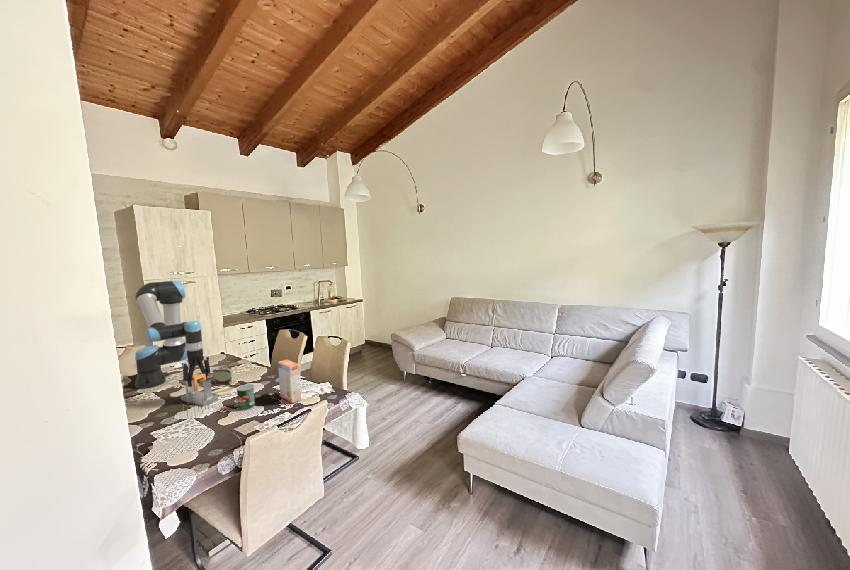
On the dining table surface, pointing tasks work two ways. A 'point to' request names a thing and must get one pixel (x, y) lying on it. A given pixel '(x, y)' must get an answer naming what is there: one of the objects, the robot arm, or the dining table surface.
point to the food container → (223, 375)
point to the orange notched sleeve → (196, 377)
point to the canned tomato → (245, 397)
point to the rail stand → (200, 394)
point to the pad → (223, 391)
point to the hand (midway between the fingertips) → (198, 389)
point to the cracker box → (289, 381)
